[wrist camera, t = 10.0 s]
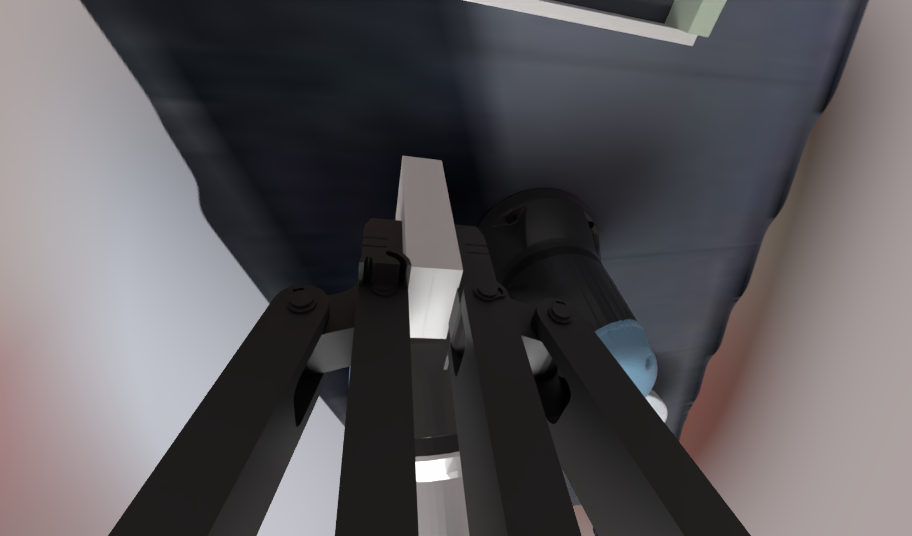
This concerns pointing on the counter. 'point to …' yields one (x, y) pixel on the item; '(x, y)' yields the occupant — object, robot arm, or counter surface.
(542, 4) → the channel
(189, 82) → the counter surface
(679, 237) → the counter surface
